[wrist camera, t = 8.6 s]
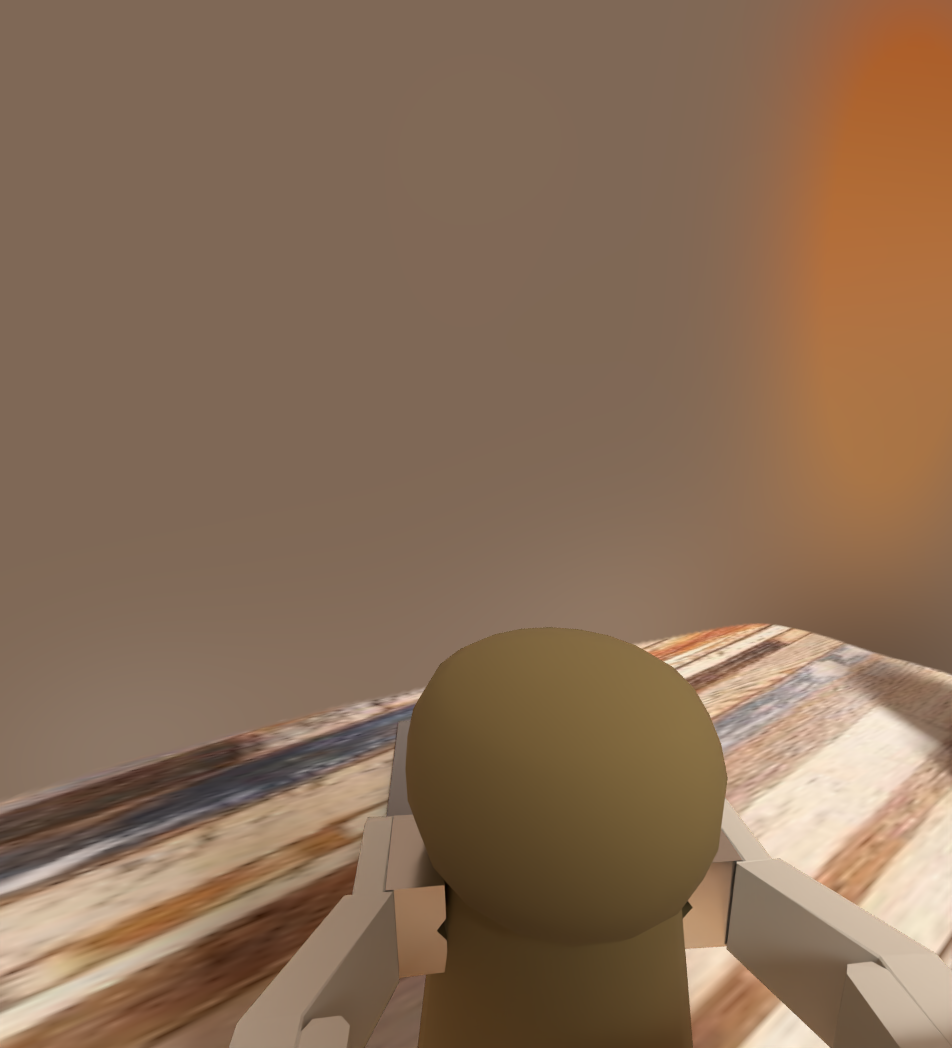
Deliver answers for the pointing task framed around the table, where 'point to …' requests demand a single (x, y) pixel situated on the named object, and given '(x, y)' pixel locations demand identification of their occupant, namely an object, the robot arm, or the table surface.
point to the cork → (563, 840)
